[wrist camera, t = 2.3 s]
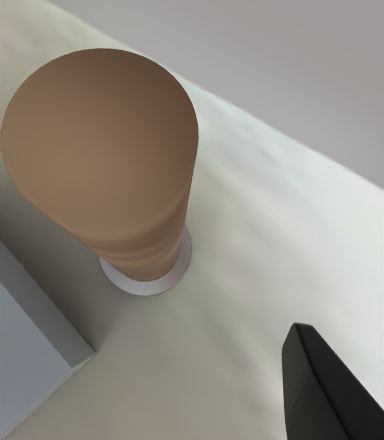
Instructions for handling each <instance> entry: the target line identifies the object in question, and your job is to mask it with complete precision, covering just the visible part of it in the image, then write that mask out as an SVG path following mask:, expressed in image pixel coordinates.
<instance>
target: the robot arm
mask: <svg viewBox="0 0 384 440" xmlns="http://www.w3.org/2000/svg"><path fill="white" fill-rule="evenodd" d="M282 372H283V394H284V413H285V425H286V433H287V439H288V440H384V410H383V409H382V408H381V407H380V405H379V404H378V403H377V402H376V401H375V400H374V398H373V397H372V396H371V395H370V394H369V392H368V391H367V390H366V389H365V388H364V386H363V385H362V384H361V383H360V382H359V380H358V379H357V378H356V377H355V376H354V375H353V373H352V372H351V371H350V370H349V369H348V367H347V366H346V365H345V364H344V363H343V361H342V360H341V359H340V358H339V357H338V356H337V354H336V353H335V352H334V351H333V350H332V348H331V347H330V346H329V345H328V344H327V342H326V341H325V340H324V339H323V338H322V336H321V335H320V334H319V333H318V332H317V331H316V329H315V328H314V327H313V326H311V325H309V324H303V323H293V324H292V326H291V328H290V330H289V333H288V335H287V337H286V340H285V342H284V344H283V348H282Z"/></svg>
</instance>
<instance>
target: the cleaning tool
mask: <svg viewBox="0 0 384 440" xmlns="http://www.w3.org/2000/svg"><path fill="white" fill-rule="evenodd" d="M198 138H199V137H198V123H197V118H196V113H195V110H194V107H193V105H192V102H191V100H190V98H189V96H188V94H187V93H186V91H185V90H184V88H183V87H182V86H181V84H180V83H179V82H178V81H177V80H176V79H175V78H174V76H173V75H171V74H170V73H169V72H168V71H167V70H166V69H164V68H163V67H161V66H160V65H158V64H157V63H155V62H153V61H152V60H150V59H148V58H146V57H143V56H141V55H138V54H135V53H132V52H128V51H123V50H117V49H103V48H97V49H87V50H81V51H77V52H72V53H69V54H66V55H63V56H61V57H59V58H56V59H54V60H52V61H50V62H49V63H47V64H45V65H44V66H42V67H40V68H39V69H38V70H37V71H35V72H34V73H33V74H31V75H30V76H29V77H28V78H27V79H26V80H25V81H24V82H23V83H22V85H21V86H20V87H19V89H18V90H17V91H16V92H15V94H14V96H13V98H12V99H11V101H10V103H9V105H8V107H7V110H6V112H5V115H4V119H3V123H2V128H1V152H2V157H3V162H4V164H5V167H6V170H7V173H8V175H9V176H10V178H11V180H12V182H13V184H14V185H15V186H16V188H17V189H18V190H19V192H20V193H21V194H22V195H23V196H24V197H25V198H26V199H27V200H28V201H29V202H30V203H31V204H32V205H34V206H35V207H36V208H38V209H39V210H40V211H41V212H43V213H44V214H45V215H47V216H48V217H49V218H51V219H52V220H53V221H54V222H56V223H57V224H58V225H60V226H61V227H62V228H64V229H65V230H66V231H67V232H69V233H70V234H71V235H73V236H74V237H75V238H77V239H78V240H79V241H80V242H82V243H83V244H84V245H86V246H87V247H88V248H90V249H91V250H92V251H94V252H95V253H96V254H97V255H99V260H100V264H101V267H102V269H103V271H104V273H105V274H106V276H107V277H108V278H109V280H110V281H111V282H112V283H113V284H115V285H116V286H117V287H119V288H120V289H122V290H124V291H126V292H129V293H131V294H134V295H138V296H153V295H158V294H161V293H163V292H166V291H168V290H169V289H171V288H172V287H173V286H175V285H176V284H177V283H178V282H179V281H180V280H181V278H182V277H183V275H184V273H185V272H186V270H187V267H188V265H189V262H190V258H191V252H192V244H191V238H190V235H189V232H188V229H187V227H186V226H185V224H184V221H185V215H186V210H187V204H188V198H189V193H190V187H191V182H192V176H193V170H194V165H195V159H196V154H197V147H198Z"/></svg>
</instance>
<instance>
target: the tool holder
mask: <svg viewBox="0 0 384 440" xmlns="http://www.w3.org/2000/svg"><path fill="white" fill-rule="evenodd" d="M95 354H96V353H95V351H94V350H93V349H92V348H91V347H90V345H89V344H88V343H87V342H86V341H85V340H84V338H83V337H82V336H81V335H80V334H79V332H78V331H77V330H76V329H75V328H74V327H73V325H72V324H71V323H70V322H69V321H68V319H67V318H66V317H65V316H64V315H63V314H62V312H61V311H60V310H59V309H58V308H57V306H56V305H55V304H54V303H53V302H52V300H51V299H50V298H49V297H48V296H47V295H46V293H45V292H44V291H43V290H42V289H41V287H40V286H39V285H38V284H37V283H36V282H35V280H34V279H33V278H32V277H31V276H30V274H29V273H28V272H27V271H26V270H25V269H24V267H23V266H22V265H21V264H20V263H19V261H18V260H17V259H16V258H15V257H14V256H13V254H12V253H11V252H10V251H9V250H8V248H7V247H6V246H5V245H4V244H3V243H2V241H1V240H0V440H4V439H5V438H6V437H7V436H9V435H10V434H11V433H12V432H13V431H14V430H15V429H16V428H17V427H18V426H19V425H20V424H21V423H22V422H23V421H25V420H26V419H27V418H28V417H29V416H30V415H31V414H32V413H33V412H34V411H35V410H36V409H37V408H38V407H40V406H41V405H42V404H43V403H44V402H45V401H46V400H47V399H48V398H49V397H50V396H51V395H52V394H53V393H55V392H56V391H57V390H58V389H59V388H60V387H61V386H62V385H63V384H64V383H65V382H66V381H67V380H68V379H70V378H71V377H72V376H73V375H74V374H75V373H76V372H77V371H78V370H79V369H80V368H81V367H82V366H83V365H84V364H86V363H87V362H88V361H89V360H90V359H91V358H92V357H93V356H94V355H95Z"/></svg>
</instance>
